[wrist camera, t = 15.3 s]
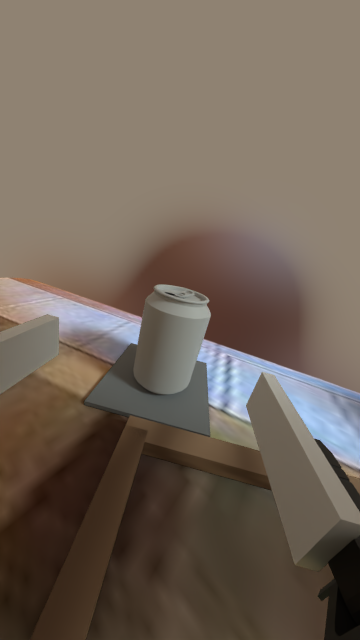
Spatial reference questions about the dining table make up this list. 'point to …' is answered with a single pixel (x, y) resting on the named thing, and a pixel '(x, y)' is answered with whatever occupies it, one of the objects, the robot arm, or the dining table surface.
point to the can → (170, 338)
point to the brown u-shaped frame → (108, 508)
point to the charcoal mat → (153, 397)
